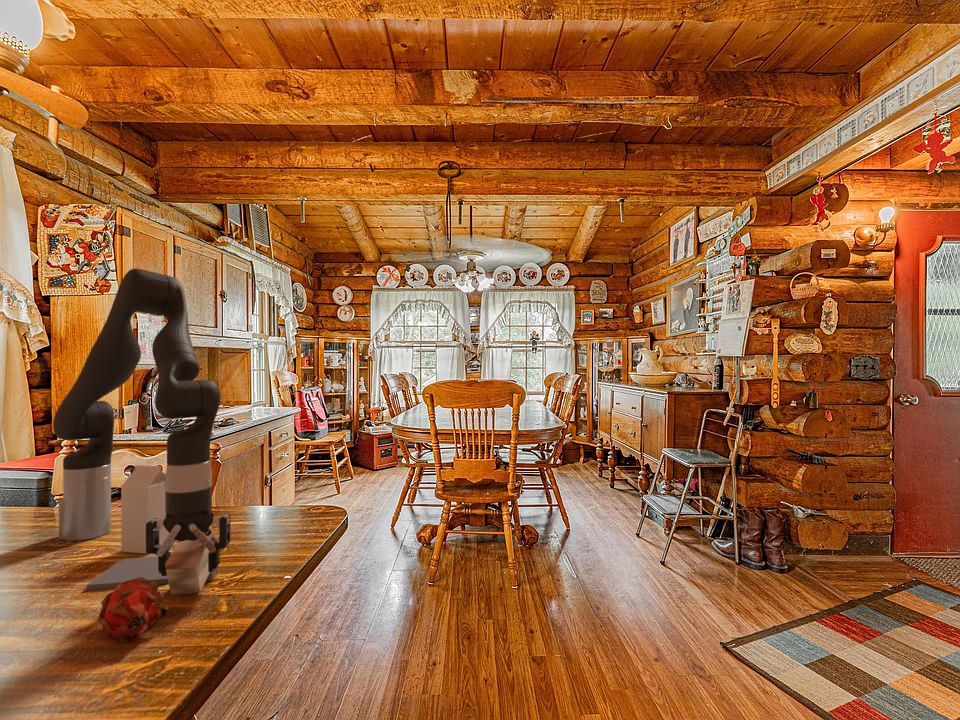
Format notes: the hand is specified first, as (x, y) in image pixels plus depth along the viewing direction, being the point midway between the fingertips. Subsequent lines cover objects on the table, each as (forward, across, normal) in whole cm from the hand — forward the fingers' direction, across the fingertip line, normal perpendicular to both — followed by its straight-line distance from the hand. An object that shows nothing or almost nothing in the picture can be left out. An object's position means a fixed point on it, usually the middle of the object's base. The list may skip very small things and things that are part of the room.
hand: (189, 572), depth 90 cm
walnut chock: (+3, 0, -5) cm, 6 cm away
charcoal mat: (+3, +12, -9) cm, 16 cm away
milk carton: (+3, +18, -24) cm, 31 cm away
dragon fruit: (+4, +3, +14) cm, 14 cm away
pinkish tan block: (+3, 0, 0) cm, 3 cm away
